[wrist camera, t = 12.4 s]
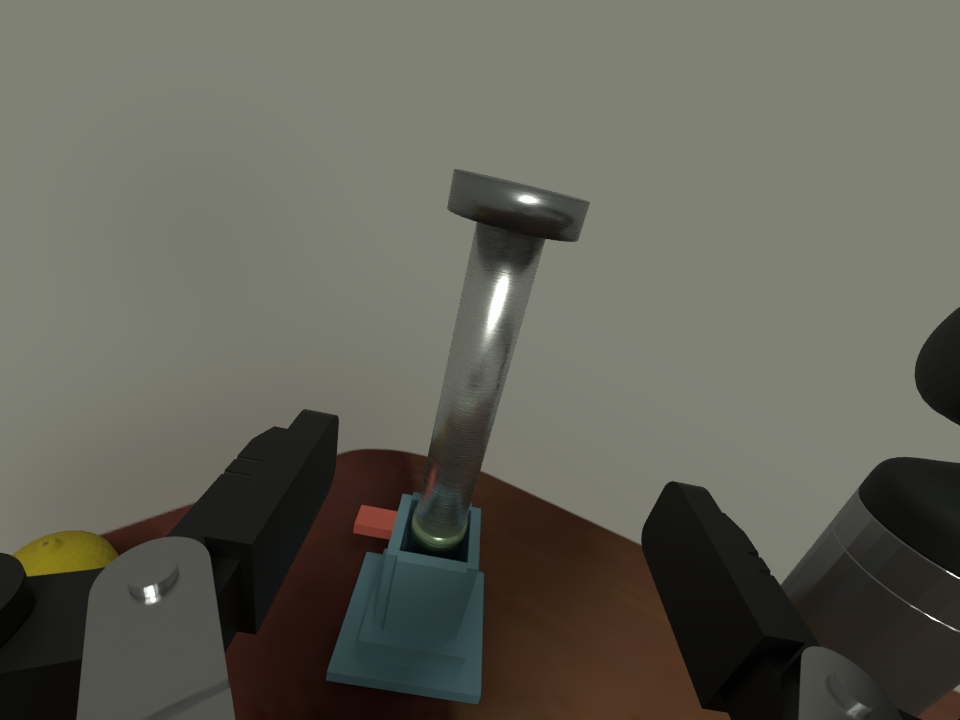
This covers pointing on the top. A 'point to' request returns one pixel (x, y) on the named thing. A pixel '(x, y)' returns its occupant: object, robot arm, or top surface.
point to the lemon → (65, 553)
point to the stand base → (413, 614)
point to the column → (484, 340)
